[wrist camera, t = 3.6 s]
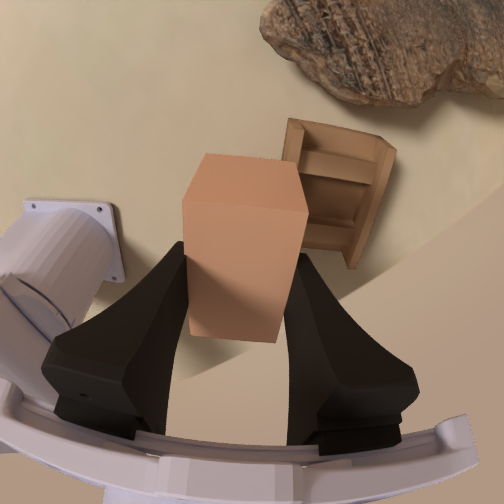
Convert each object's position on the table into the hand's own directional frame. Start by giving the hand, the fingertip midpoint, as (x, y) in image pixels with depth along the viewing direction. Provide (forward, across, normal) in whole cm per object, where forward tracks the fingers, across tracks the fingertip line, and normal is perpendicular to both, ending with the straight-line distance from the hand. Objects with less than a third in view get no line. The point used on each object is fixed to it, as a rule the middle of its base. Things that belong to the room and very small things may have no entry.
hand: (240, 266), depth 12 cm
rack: (+9, -5, 0) cm, 10 cm away
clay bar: (+3, 0, 0) cm, 3 cm away
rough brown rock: (+10, -8, -14) cm, 19 cm away
